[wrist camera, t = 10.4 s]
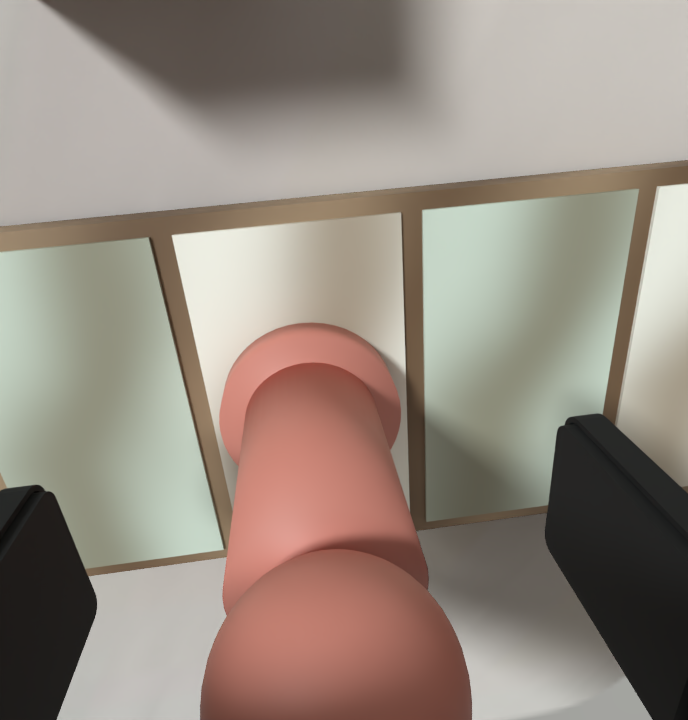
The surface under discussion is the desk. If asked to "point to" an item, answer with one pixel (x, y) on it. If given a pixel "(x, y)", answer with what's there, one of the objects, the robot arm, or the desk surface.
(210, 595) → the desk surface
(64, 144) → the desk surface
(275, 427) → the pawn
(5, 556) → the robot arm
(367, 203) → the board
